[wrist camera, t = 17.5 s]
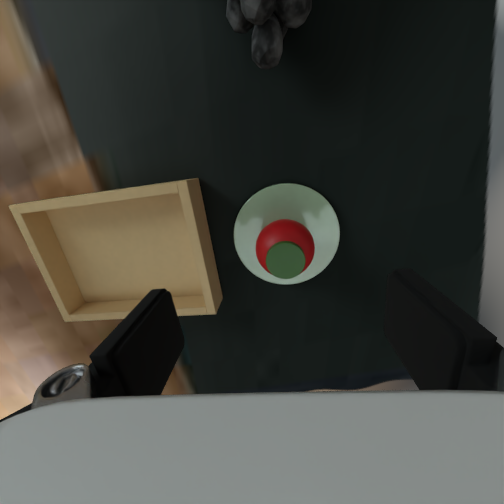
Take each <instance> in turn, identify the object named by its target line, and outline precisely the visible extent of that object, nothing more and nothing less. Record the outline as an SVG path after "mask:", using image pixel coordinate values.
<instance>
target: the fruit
mask: <svg viewBox="0 0 504 504" xmlns="http://www.w3.org/2000/svg"><path fill="white" fill-rule="evenodd" d="M311 9H312V0H227V10H226V17H227V19H228V21H229V23H230V24H231V26H232V28H233V30H234V31H235V32H238V33H247V32H248V31H249V30H250V29H251V28H252V27H253V26H254V25H255V26H254V30H253V33H252V60H253V61H254V62H255V63H256V64H257V65H258V67H259V68H262V69H271V68H273V67H275V66H276V65H278V63H279V61H280V58H281V55H282V49H283V39H284V37H285V34H286V32H287V30H288V28H295V29H296V28H297V27H299V26H300V25H302V24H303V23H304V22H305V21H306V19H307V17H308V15H309V13H310V11H311Z"/></svg>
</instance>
